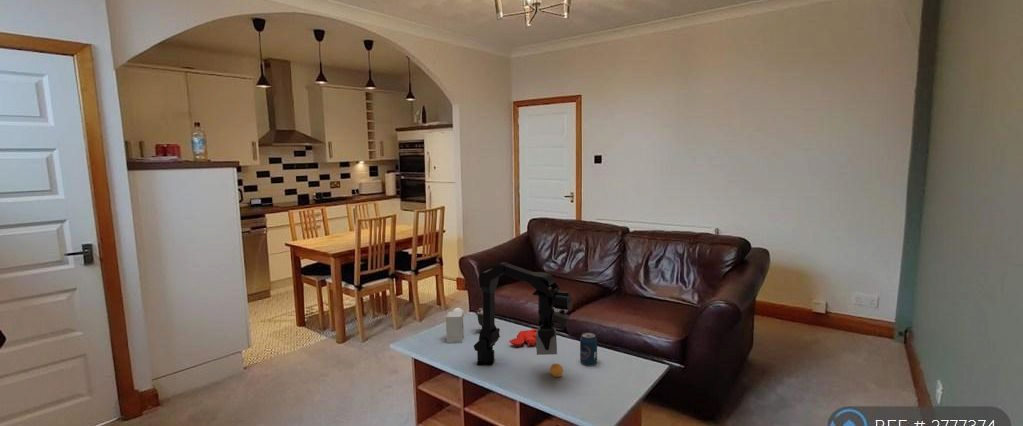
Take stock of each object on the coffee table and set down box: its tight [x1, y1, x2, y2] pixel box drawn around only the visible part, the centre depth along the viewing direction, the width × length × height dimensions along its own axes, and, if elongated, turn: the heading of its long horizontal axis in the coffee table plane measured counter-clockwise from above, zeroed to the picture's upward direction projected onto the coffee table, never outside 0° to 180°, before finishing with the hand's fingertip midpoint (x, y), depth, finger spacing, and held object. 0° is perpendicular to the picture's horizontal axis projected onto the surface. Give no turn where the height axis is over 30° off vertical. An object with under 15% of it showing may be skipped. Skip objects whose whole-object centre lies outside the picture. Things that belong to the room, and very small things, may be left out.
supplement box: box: [445, 311, 465, 344], centre depth 226 cm, size 7×7×13 cm
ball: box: [549, 362, 564, 378], centre depth 188 cm, size 5×5×5 cm
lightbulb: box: [451, 307, 465, 318], centre depth 239 cm, size 6×6×11 cm
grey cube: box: [535, 327, 558, 356], centre depth 187 cm, size 8×8×7 cm
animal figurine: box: [508, 328, 537, 348], centre depth 220 cm, size 12×15×5 cm
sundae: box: [475, 305, 483, 335], centre depth 233 cm, size 7×7×15 cm
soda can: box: [579, 332, 598, 367], centre depth 199 cm, size 7×7×12 cm
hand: (547, 345), depth 187 cm, fingers closed on grey cube, 8 cm apart
